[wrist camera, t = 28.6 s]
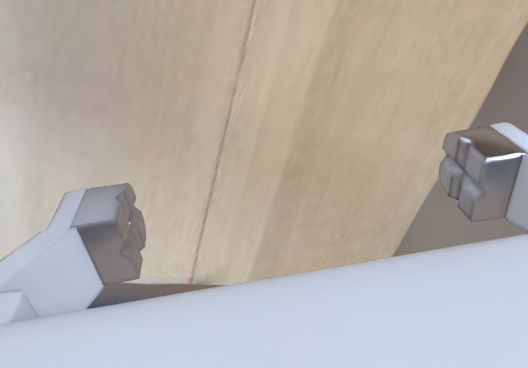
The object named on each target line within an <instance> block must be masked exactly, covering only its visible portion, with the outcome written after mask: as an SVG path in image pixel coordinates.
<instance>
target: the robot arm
mask: <svg viewBox="0 0 528 368" xmlns="http://www.w3.org/2000/svg"><path fill="white" fill-rule="evenodd" d="M442 148H443V150H444V151H445V153H446V154H447V155H446V156H445V157H444V159H443V160H442V161H441V162H440V167H439V178H440V184H441V186H442V188H443V190H444V191H445V192H446V194H447V195H448V196H449V197H452V198H454V199H456V200H459V202H458V207H459V209H460V210H461V211H462V212H463V213H464V214H465V215H466V217H467V218H468V219H469V220H470V221H471V222H478V221H485V220H492V219H499V218H505V219H506V220H507V221H510V222H511V223H513V224H516V225H518V226H519V227H521V228H523V229H525V230H527V231H528V135H527V134H525V133H524V132H522V131H521V130H519V129H518V128H516V127H515V126H513V125H512V124H510V123H505V122H503V123H498V124H493V125H488V126H483V127H477V128H472V129H466V130H461V131H455V132H451V133H447V134H446V136H445V138H444V141H443V147H442ZM135 200H136V196H135V193H134V191H133V188H132V186H131V185H130V184H129V183H124V184H117V185H110V186H103V187H96V188H89V189H87V188H86V189H81V190H75V191H70V192H67V193H65V194H64V196H63V198H62V200H61V202H60V204H59V206H58V208H57V210H56V212H55V214H54V216H53V218H52V220H51V222H50V224H49V226H48V228H47V230H46V232H42V233H38V234H37V235H36V236H34V237H33V238H31V239H30V240H28V241H27V242H26V243H24V244H23V245H21V246H20V247H19V248H17V249H16V250H14V251H13V252H12V253H10V254H9V255H7V256H6V257H5V258H3V259H2V260H0V368H528V234H524V235H518V236H512V237H506V238H500V239H494V240H489V241H483V242H477V243H471V244H465V245H459V246H454V247H448V248H442V249H436V250H431V251H425V252H419V253H413V254H407V255H401V256H396V257H390V258H384V259H378V260H372V261H366V262H361V263H355V264H349V265H343V266H337V267H331V268H326V269H320V270H314V271H308V272H302V273H296V274H291V275H285V276H279V277H273V278H267V279H261V280H256V281H250V282H244V283H238V284H232V285H227V286H221V287H215V288H209V289H203V290H197V291H192V292H186V293H180V294H174V295H168V296H162V297H157V298H151V299H145V300H139V301H134V302H127V303H122V304H116V305H110V306H104V307H99V308H93V309H87V310H86V308H87V307H88V306H89V305H90V304H91V303H92V301H93V300H94V299H95V298H96V297H97V295H98V294H99V293H100V292H101V291H102V289H103V288H104V285H110V284H114V283H120V282H125V281H130V280H135V279H139V277H140V271H141V266H142V260H143V259H142V256H141V253H140V251H141V250H142V249H143V248H144V247H145V242H146V228H145V223H144V219H143V216H142V213H141V211H140V210H138V209H137V208H136V207H134V204H135Z"/></svg>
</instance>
